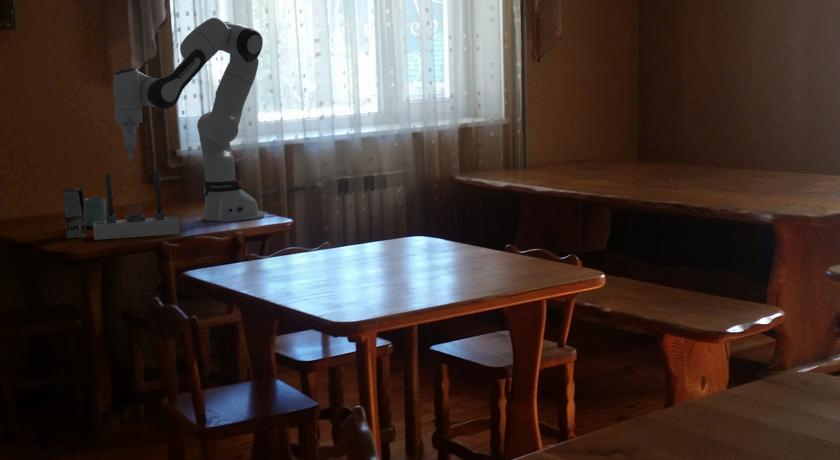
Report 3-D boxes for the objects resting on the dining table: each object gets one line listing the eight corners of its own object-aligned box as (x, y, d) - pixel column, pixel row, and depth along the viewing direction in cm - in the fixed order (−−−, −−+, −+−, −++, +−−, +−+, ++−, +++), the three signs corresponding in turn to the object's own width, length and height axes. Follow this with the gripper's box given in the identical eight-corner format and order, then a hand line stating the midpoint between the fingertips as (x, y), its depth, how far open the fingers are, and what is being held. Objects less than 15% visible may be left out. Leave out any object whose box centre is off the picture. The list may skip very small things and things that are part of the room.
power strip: (178, 230, 368) (177, 211, 367) (179, 233, 361) (178, 214, 360) (94, 236, 361) (93, 217, 360) (94, 239, 354) (92, 220, 353)
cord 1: (116, 221, 360) (112, 173, 357) (116, 222, 357) (112, 174, 354) (107, 221, 360) (103, 173, 357) (107, 223, 356) (103, 175, 353)
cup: (103, 228, 375) (101, 200, 374) (81, 228, 376) (79, 201, 374) (110, 224, 383) (107, 197, 381) (88, 224, 383) (86, 197, 381)
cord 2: (164, 217, 365) (161, 170, 362) (164, 219, 361) (161, 172, 358) (155, 218, 364) (152, 171, 361) (155, 220, 360) (152, 172, 357)
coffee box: (86, 237, 359) (82, 190, 356) (66, 238, 357) (62, 191, 354) (86, 232, 368) (83, 186, 365) (67, 234, 366) (63, 188, 363)
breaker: (142, 215, 361) (141, 205, 361) (142, 214, 360) (141, 205, 360) (129, 215, 360) (128, 206, 360) (129, 215, 359) (128, 205, 359)
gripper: (138, 119, 345) (141, 161, 347) (137, 115, 364) (140, 155, 367) (118, 119, 343) (121, 162, 346) (118, 115, 362) (121, 155, 365)
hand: (131, 158), depth 356 cm, fingers closed
